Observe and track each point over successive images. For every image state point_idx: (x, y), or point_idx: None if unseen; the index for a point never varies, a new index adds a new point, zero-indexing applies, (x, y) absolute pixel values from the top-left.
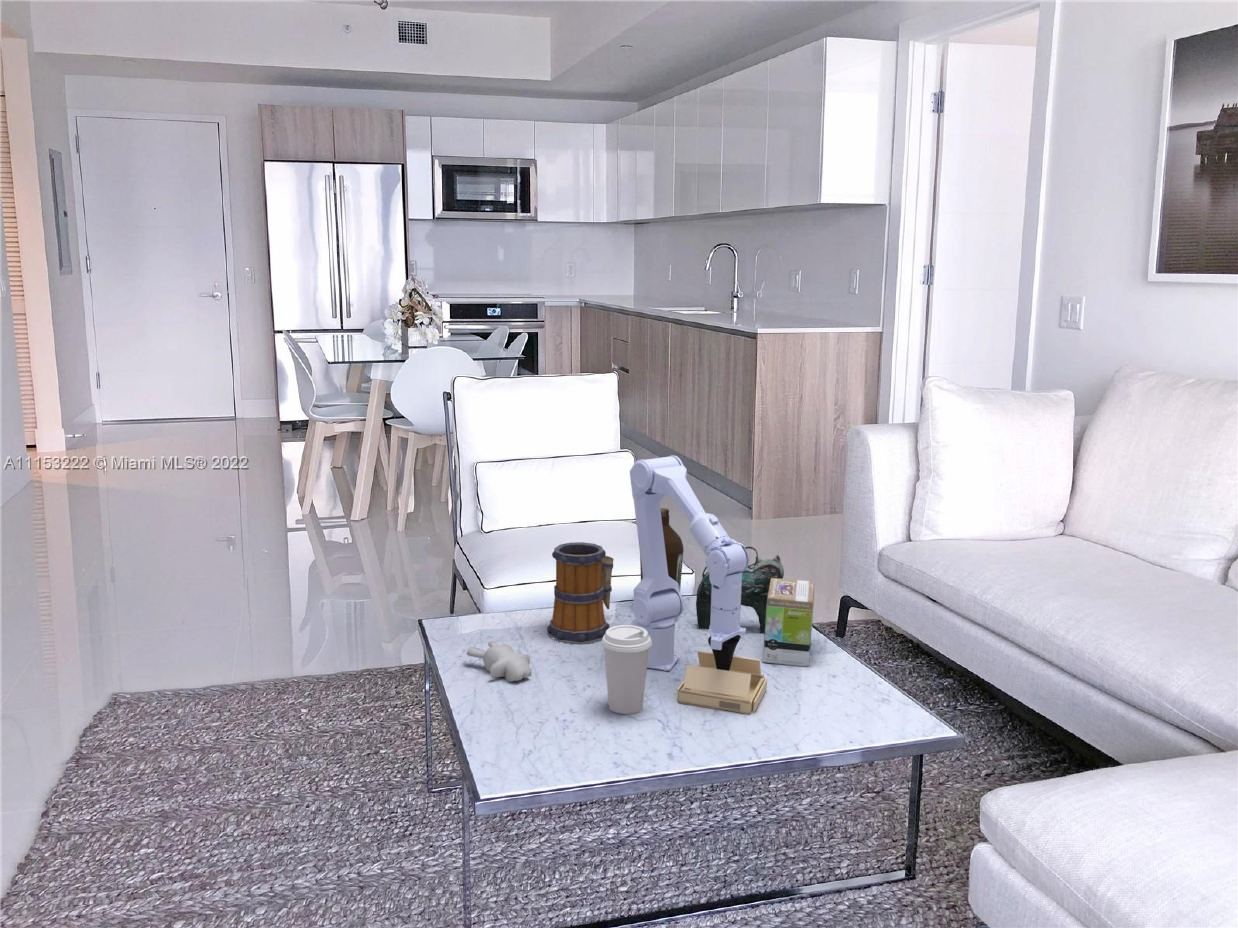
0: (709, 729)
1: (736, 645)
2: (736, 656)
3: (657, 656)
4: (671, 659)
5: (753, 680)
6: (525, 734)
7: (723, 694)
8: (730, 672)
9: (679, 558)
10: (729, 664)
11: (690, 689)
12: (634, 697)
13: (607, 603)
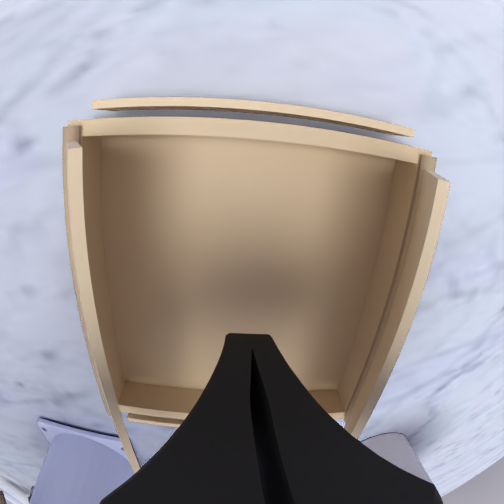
0: (495, 270)
1: (191, 471)
2: (96, 345)
3: (123, 482)
4: (86, 447)
5: (90, 176)
6: (447, 476)
7: (252, 283)
8: (405, 331)
9: None
10: (292, 371)
11: None
12: (420, 463)
13: (3, 502)
